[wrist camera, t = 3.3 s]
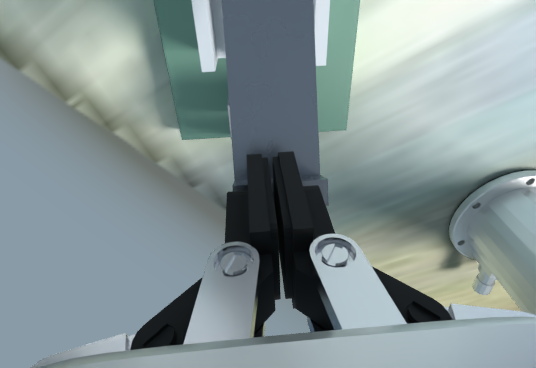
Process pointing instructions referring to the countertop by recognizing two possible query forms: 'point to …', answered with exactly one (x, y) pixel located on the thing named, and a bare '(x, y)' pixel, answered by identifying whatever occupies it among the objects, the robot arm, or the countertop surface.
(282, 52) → the thin grey bar
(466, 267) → the countertop surface
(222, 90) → the base
